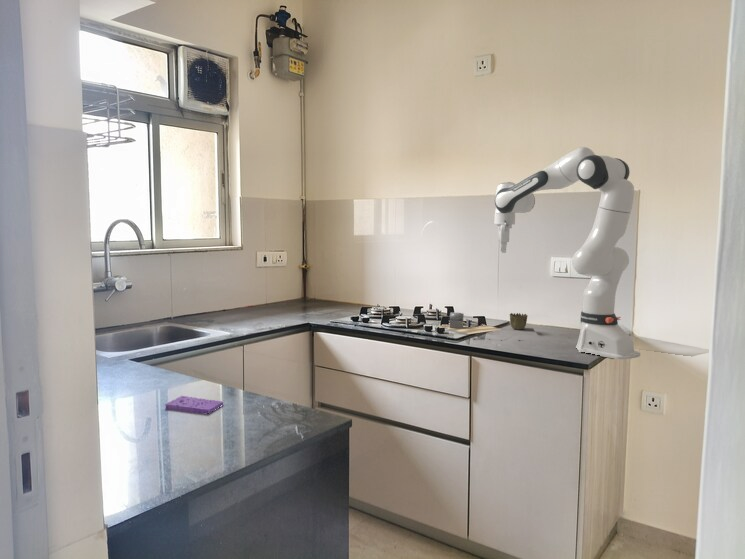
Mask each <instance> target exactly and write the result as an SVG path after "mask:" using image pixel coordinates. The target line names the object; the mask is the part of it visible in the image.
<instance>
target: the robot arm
mask: <svg viewBox="0 0 745 559" xmlns="http://www.w3.org/2000/svg"><path fill="white" fill-rule="evenodd" d="M630 174H631V173H630V167H629V164H627V162H626V161H624V160H623V159H621V158H616V157H611V156H608V155H597V154H595V152H594V151H593V150H592V149H591V148H590V147H587V146H586V147H585V146H581V147H578V148H576V149H574V150H572V151H569V152H568V153H566V154H565V155H563V156H561V157H560V158H559V159H557V160H555V161H554V162H553V163H551V164H549V165H548V166H546V167H545V168H543V169H541V170H539V171H537V172H535V173H533V174H532V175H529V176H528V177H526V178H524V179H523V180H521V181H520V182H518V183H514V182H513V181H511V182H510V181H508V182H502V183H499V184H498V185H497V186H496V190H495V196H494V206H495V210H494V217H493V220H494V222H493V224H494V225H496V228H497V232H498V241H499V242H500V252H501V253H502V254H503V253H504V254H505V253H507V245H508V243H510V231H511V230H510V229H512V228H513V225H515V224H516V213H517V214H519V213H520V214H526V213H529V212H531V211H532V210H533V209H534V207H535V203H536V198H535V195H534V193H536V192H539V191H544V190H545V191H546V190H561V189H564V188H567V187H569V186H571V185H574V184H575V183H577V182H578V181H580V182H582V183H584V184H586V186H589V187H591V188H592V189H594V190H599V191H600V199H599V203H598V207H597V210H596V214H595V218H594V220H593V221H594V222H593V225H592V228H591V230H590V232H589V234H588V236H587V238H586V240H585V241H584V242H583V244H582V246H581V247H580V248H579V249H578V250H576V252H575V253H574V254H573V256H572V266H573V269H574V271H575V272H576V273H578V274H579V275H581V276H582V275H583V276H586V277H590V280H589V283H588V285H587V286H585V288H584V290H583V292H582V293H583V295H582V311H581V312H580V331H579V336H578V339H577V344H576V345H575V349H576V348H577V349H576V350H577V351H578V353H581V352H585V353H584V354H586V353H591V354H590V355H592V354H595V355H594V356H597V355H600V356H599V357H604V358H610V359H615V360H631V359H636V358H640V356H641V352H640V351H637V350H635V345H634V340H633V338H632V336H631V335H630V334H628V333H627V332H626V331H625V330H624V329H623V328H622V327H621V326H620V325H619V322H618V321H621V316H616V313H615V306H616V305H615V304H616V292H617V289H618V285H619V283H620V279H621V277H622V275H623V273H624V271H625V270H626V269H627V267H628V266H629V263H630V258H629V254H628V253H627V252H626V250H624V249H623V248H621V247H618V246H616V245H617V243H618V241H619V240H620V239H621V238H622V237H623V236H624V235H625V234H626V231H627V227H628V224H629V219H630V216H631V212H632V208H633V203H634V196H635V186H634V184H633V183H632V182H631V181H629V177H630Z"/></svg>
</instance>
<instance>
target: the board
mask: <svg viewBox="0 0 745 559" xmlns="http://www.w3.org/2000/svg"><path fill="white" fill-rule="evenodd" d="M482 325H483V326H479V327H463V329H455V328H450V324H442V325H437V326H436V328H437V327H439V328H442V329H443V328H444V329H446V330H451V331H454V332H458V333H463V334H467V335H471V334H472V335H474V334H480V333H485V332H494V331H495V332H496V331H501V330H503V329H502V328H500V327H499V328H498V327H494V326H492V325H491V326H490V325H485V324H482Z"/></svg>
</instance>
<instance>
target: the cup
mask: <svg viewBox="0 0 745 559" xmlns="http://www.w3.org/2000/svg"><path fill="white" fill-rule="evenodd" d="M527 320H528V314H526V313H522V314H521V313H520V312H519V313H512V312H511V313H509V322H510V326H511V328H512V329H513V330H516V331H522V330H523V329H525V328H526V326H527Z"/></svg>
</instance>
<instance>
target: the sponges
mask: <svg viewBox="0 0 745 559" xmlns="http://www.w3.org/2000/svg"><path fill="white" fill-rule="evenodd" d="M164 405H165V409H166V410H173V411H179V412H180V411H181V412H186V413H193V414H194V413H195V414H201V413H211V412H212V411H214V410H215V409H217V408H218V407H220V406H221V405H223V406H224V401H223V400H222V401H221V400H215V399H206V398H198V397H192V396H186V395H180V396H179V397H177V398H175V399H173V400H171V401H169V402H166V403H165V404H164ZM220 408H221V407H220ZM217 410H218V409H217ZM214 412H215V411H214ZM212 413H213V412H212ZM212 413H211V414H212Z"/></svg>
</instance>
